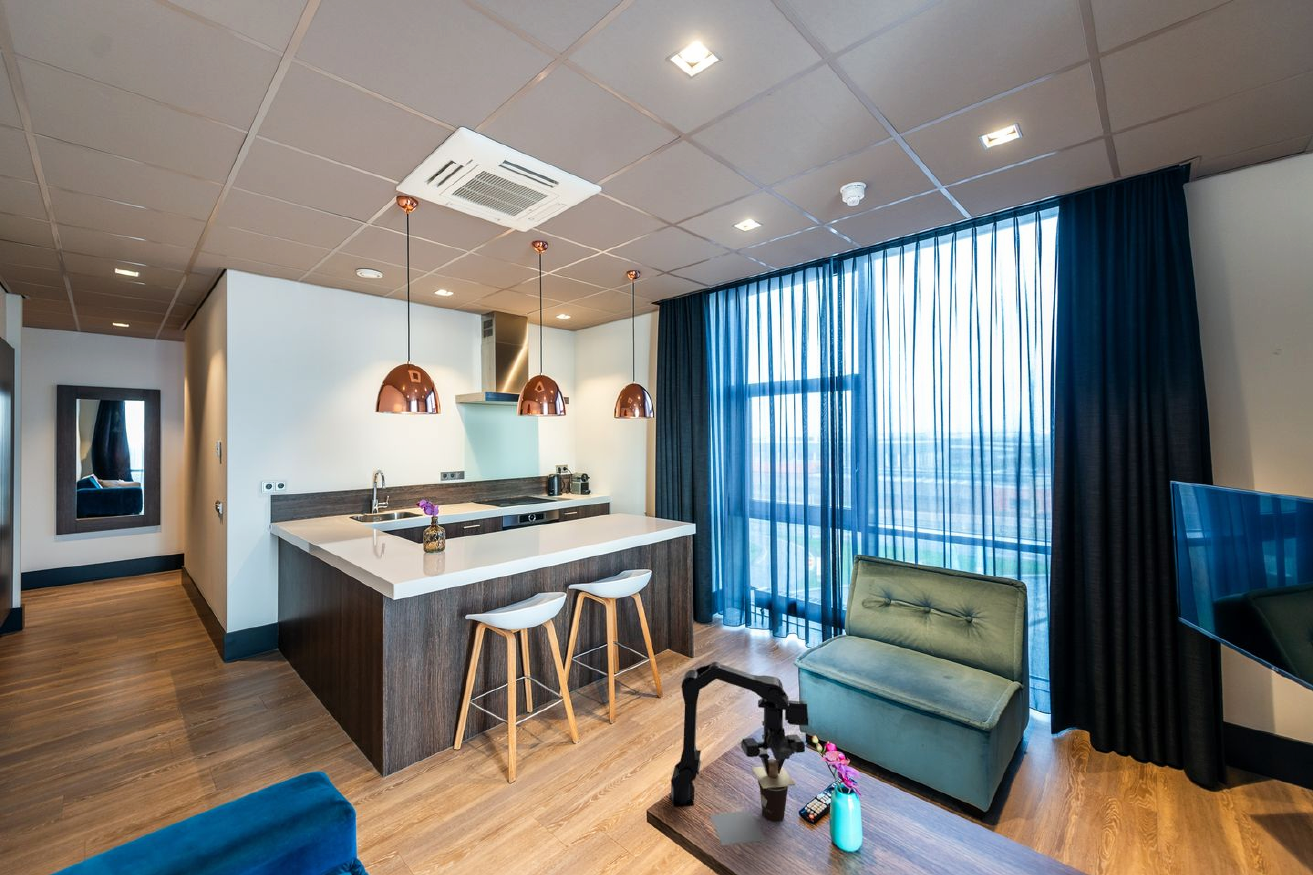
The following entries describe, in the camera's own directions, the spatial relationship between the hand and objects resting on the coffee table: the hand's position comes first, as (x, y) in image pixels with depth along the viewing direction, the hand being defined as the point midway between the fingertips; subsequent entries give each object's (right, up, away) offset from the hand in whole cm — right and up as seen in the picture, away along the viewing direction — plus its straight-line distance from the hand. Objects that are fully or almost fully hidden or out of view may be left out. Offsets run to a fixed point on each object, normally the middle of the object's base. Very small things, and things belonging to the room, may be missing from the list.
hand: (772, 773), depth 168 cm
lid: (0, -1, 0) cm, 1 cm away
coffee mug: (0, -12, 0) cm, 12 cm away
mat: (-12, -11, -8) cm, 18 cm away
